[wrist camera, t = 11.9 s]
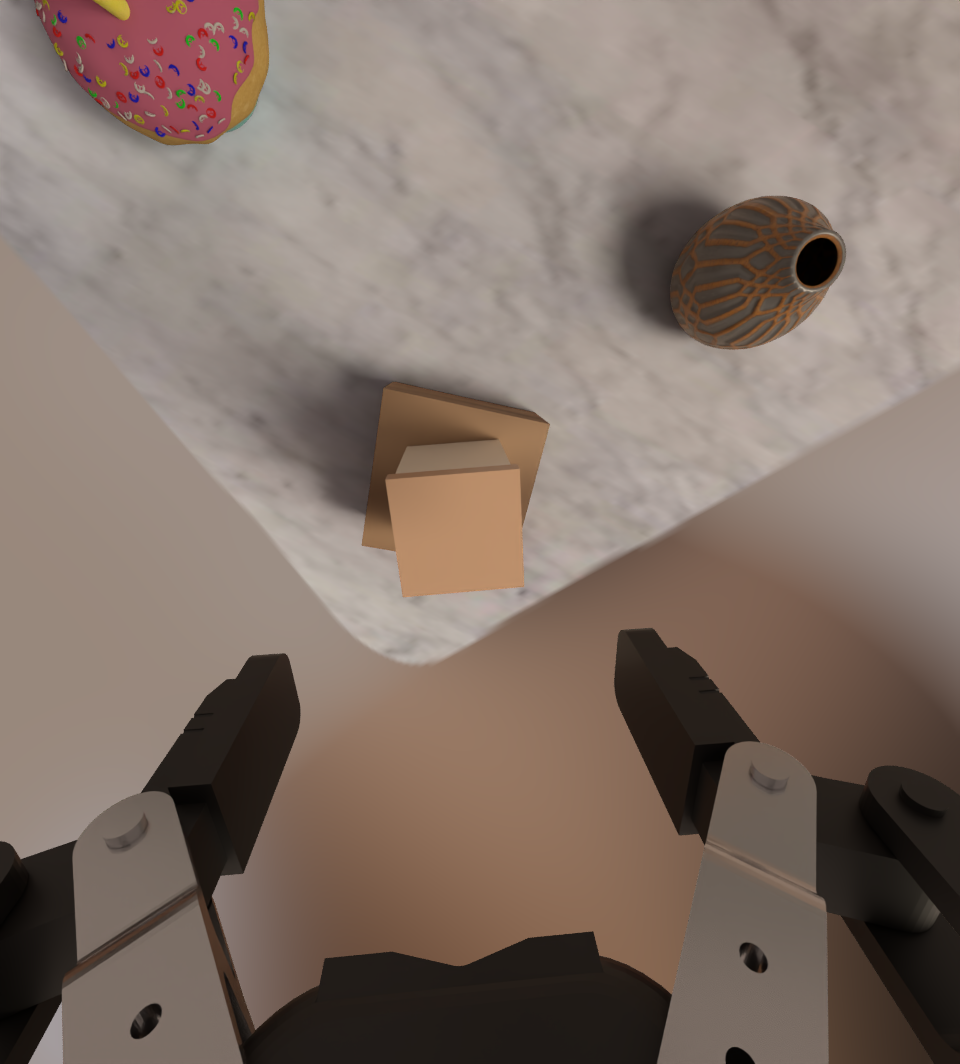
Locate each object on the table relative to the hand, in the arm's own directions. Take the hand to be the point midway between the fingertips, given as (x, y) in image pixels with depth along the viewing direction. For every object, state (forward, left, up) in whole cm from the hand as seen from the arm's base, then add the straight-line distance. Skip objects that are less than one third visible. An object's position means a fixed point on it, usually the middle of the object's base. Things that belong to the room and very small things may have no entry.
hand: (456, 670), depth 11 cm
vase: (-10, +16, -21) cm, 28 cm away
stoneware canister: (0, 0, -16) cm, 16 cm away
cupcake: (-20, -11, -21) cm, 31 cm away
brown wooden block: (0, 0, -21) cm, 21 cm away
